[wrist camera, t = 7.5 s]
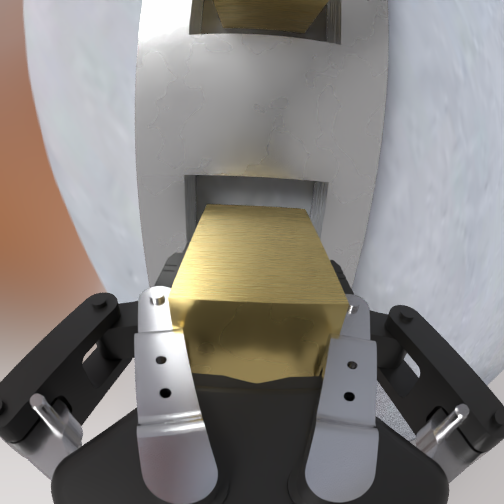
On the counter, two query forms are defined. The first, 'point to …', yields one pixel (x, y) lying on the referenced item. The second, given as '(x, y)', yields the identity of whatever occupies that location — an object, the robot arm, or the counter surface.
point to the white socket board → (259, 119)
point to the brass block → (256, 294)
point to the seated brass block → (269, 14)
